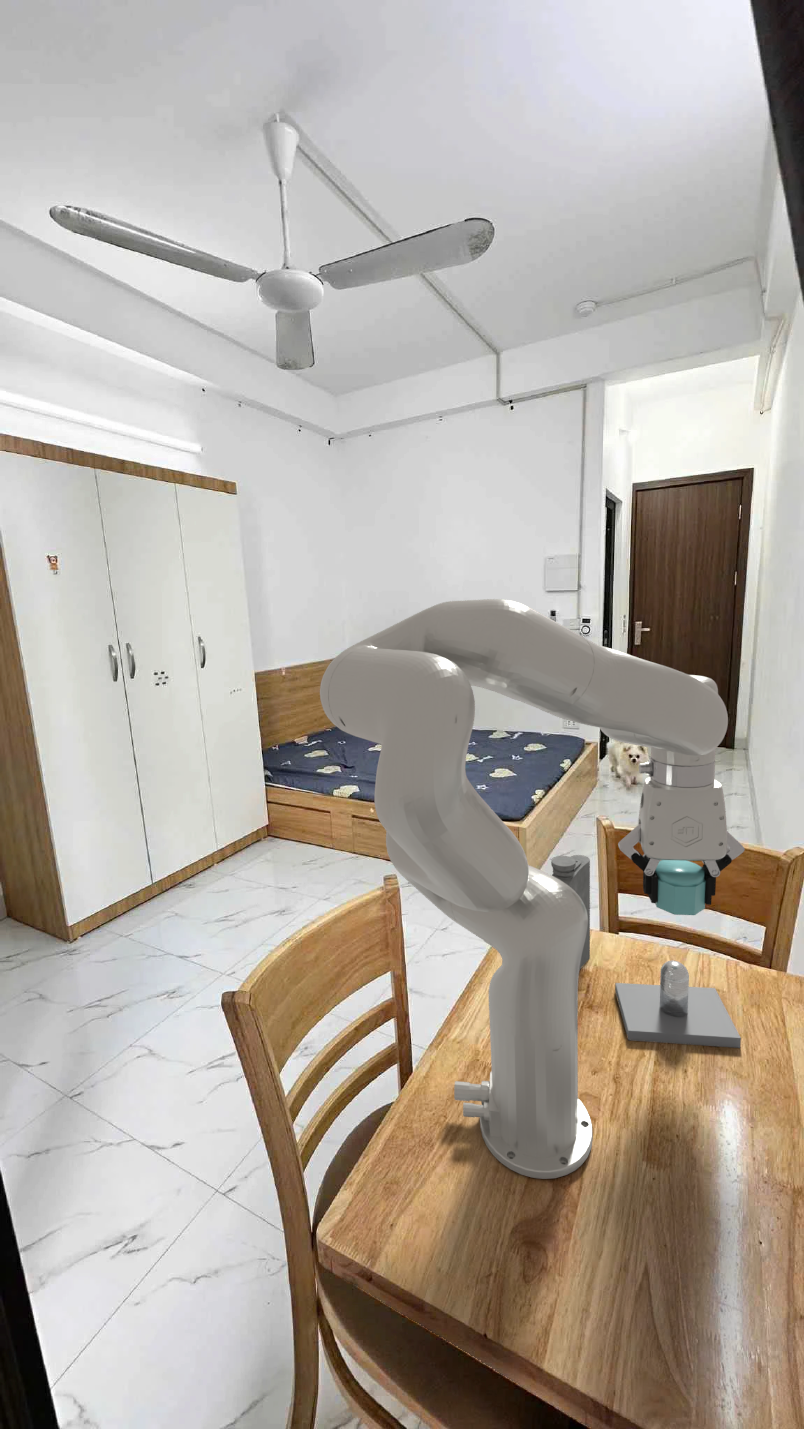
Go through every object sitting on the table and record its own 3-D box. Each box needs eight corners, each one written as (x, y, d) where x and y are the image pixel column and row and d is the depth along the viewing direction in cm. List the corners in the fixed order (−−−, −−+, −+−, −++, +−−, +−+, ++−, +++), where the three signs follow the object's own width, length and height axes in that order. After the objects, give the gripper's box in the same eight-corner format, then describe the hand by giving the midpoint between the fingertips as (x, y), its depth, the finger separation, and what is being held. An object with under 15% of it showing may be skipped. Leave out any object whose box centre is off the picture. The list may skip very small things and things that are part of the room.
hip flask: (563, 1011, 86) (562, 886, 82) (536, 1003, 89) (533, 880, 85) (592, 953, 100) (592, 842, 96) (568, 947, 102) (567, 838, 98)
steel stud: (663, 1016, 82) (664, 970, 81) (656, 999, 86) (658, 954, 84) (691, 1018, 82) (692, 971, 80) (683, 1000, 85) (685, 955, 84)
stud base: (628, 1040, 80) (628, 1030, 80) (615, 991, 90) (615, 982, 90) (740, 1047, 78) (740, 1038, 77) (714, 997, 87) (715, 988, 87)
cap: (659, 914, 78) (660, 879, 77) (649, 891, 84) (650, 858, 83) (709, 915, 77) (710, 880, 76) (695, 892, 82) (696, 859, 81)
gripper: (616, 781, 74) (616, 911, 78) (767, 780, 71) (759, 916, 75) (607, 764, 82) (607, 883, 85) (743, 762, 78) (737, 886, 82)
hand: (678, 897), depth 80 cm, fingers closed on cap, 6 cm apart
